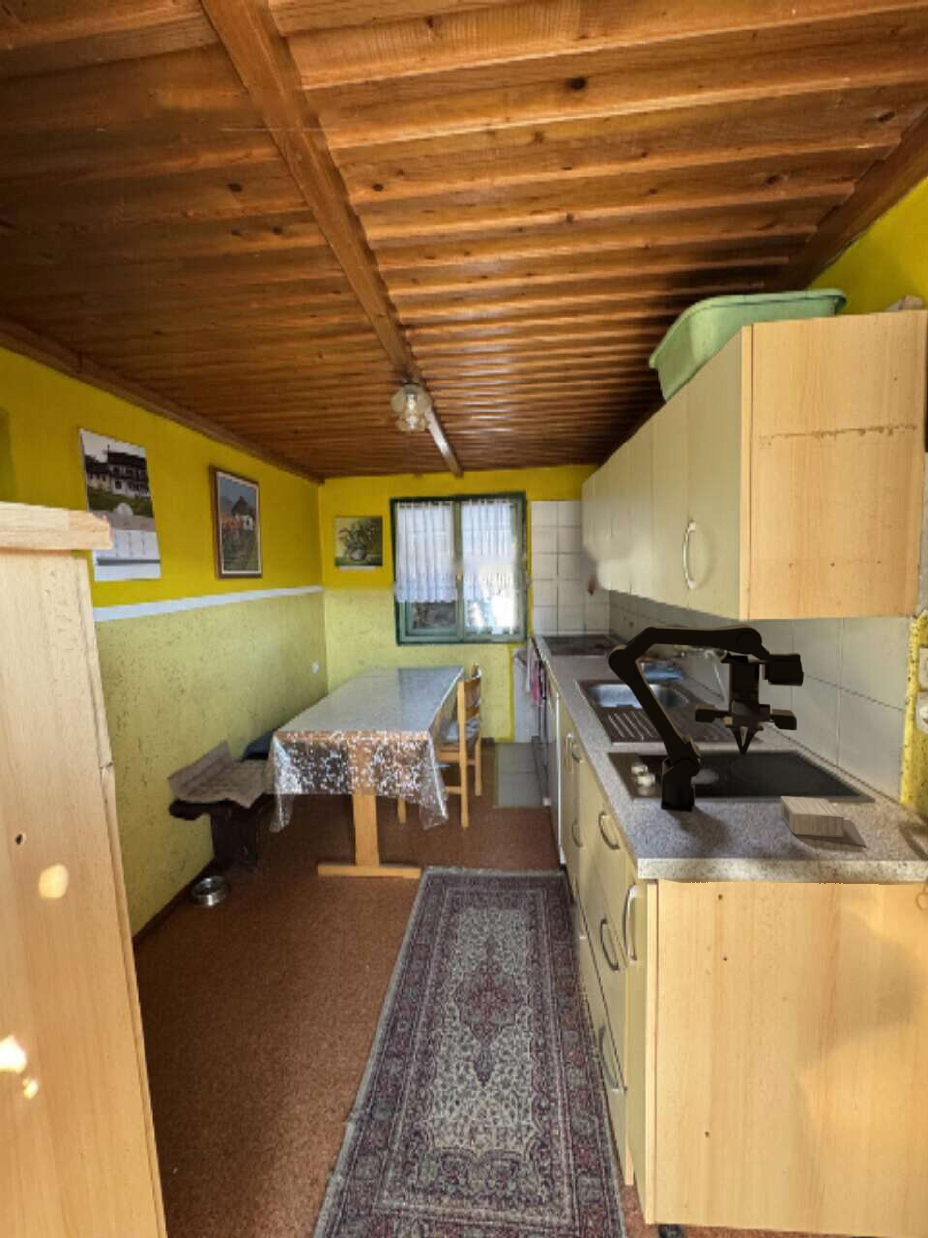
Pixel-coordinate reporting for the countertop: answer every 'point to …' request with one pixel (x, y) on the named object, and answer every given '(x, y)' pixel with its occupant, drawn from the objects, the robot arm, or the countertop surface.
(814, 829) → the wooden block
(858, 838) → the mat
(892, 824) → the countertop surface
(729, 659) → the robot arm
